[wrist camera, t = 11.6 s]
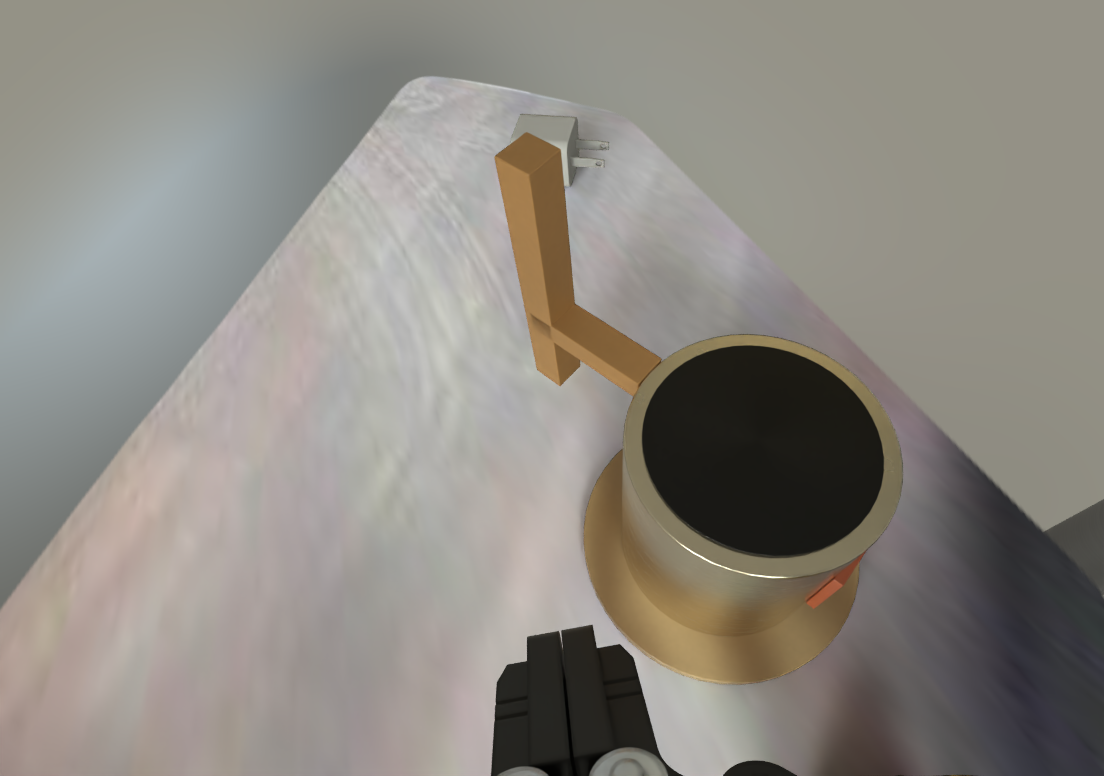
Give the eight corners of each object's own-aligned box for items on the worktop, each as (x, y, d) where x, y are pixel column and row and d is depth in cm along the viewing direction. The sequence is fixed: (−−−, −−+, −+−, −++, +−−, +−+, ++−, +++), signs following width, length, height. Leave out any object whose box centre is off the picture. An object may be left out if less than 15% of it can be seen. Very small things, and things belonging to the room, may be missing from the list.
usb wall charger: (528, 153, 51) (522, 109, 47) (611, 159, 50) (610, 114, 46) (516, 186, 49) (509, 143, 45) (602, 193, 48) (601, 149, 44)
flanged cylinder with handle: (858, 527, 32) (1109, 282, 16) (750, 687, 28) (927, 586, 12) (609, 361, 38) (605, 69, 22) (498, 475, 35) (398, 229, 19)
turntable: (795, 405, 37) (799, 398, 36) (903, 656, 29) (910, 653, 29) (564, 447, 36) (563, 441, 36) (613, 709, 29) (613, 708, 28)
